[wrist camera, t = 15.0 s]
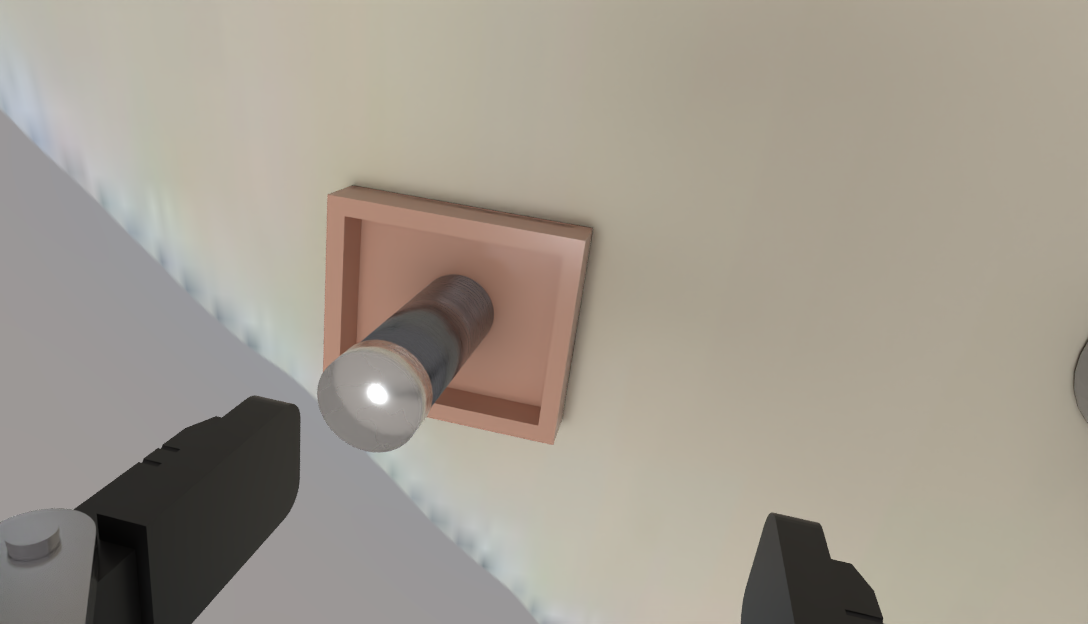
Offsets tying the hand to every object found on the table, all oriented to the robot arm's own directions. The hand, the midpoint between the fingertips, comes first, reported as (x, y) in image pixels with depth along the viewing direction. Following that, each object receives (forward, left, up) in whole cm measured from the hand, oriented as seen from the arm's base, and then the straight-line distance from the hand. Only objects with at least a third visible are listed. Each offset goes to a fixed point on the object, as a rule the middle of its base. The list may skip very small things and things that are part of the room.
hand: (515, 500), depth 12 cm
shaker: (+9, +8, -27) cm, 30 cm away
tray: (+9, +8, -28) cm, 31 cm away
